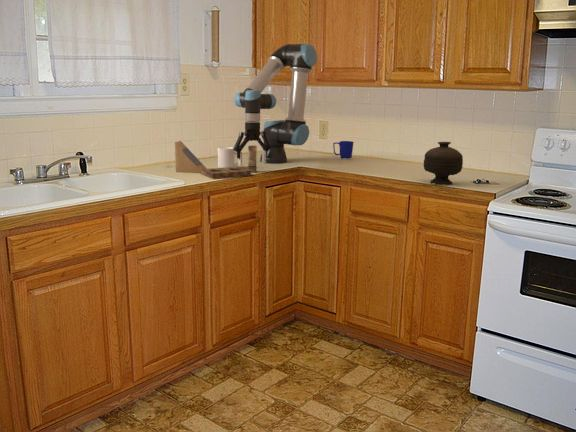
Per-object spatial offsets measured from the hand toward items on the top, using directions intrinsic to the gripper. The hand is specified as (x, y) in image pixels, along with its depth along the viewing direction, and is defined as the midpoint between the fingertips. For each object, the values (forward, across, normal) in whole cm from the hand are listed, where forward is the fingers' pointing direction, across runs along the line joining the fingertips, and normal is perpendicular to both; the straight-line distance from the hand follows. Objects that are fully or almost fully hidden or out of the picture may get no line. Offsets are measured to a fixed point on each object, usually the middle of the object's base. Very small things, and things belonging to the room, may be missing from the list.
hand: (252, 164), depth 290 cm
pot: (+4, -66, +65) cm, 93 cm away
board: (+4, +16, +4) cm, 17 cm away
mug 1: (+4, +6, -13) cm, 15 cm away
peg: (+4, 0, 0) cm, 4 cm away
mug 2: (+4, -74, -22) cm, 77 cm away
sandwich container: (+4, +27, -12) cm, 30 cm away
